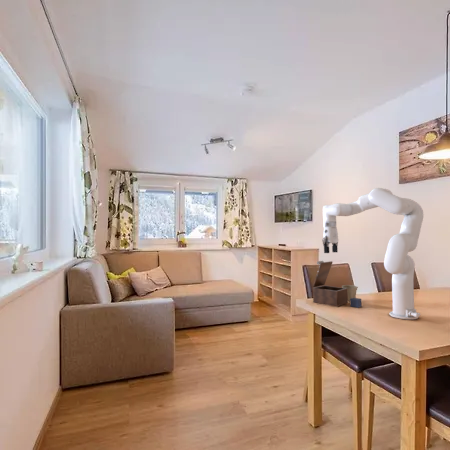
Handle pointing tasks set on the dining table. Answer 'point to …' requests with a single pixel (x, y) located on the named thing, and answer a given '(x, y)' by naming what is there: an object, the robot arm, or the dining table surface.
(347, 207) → the robot arm
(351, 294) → the flower pot
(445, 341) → the dining table surface
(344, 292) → the chest
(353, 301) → the block
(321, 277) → the lid
